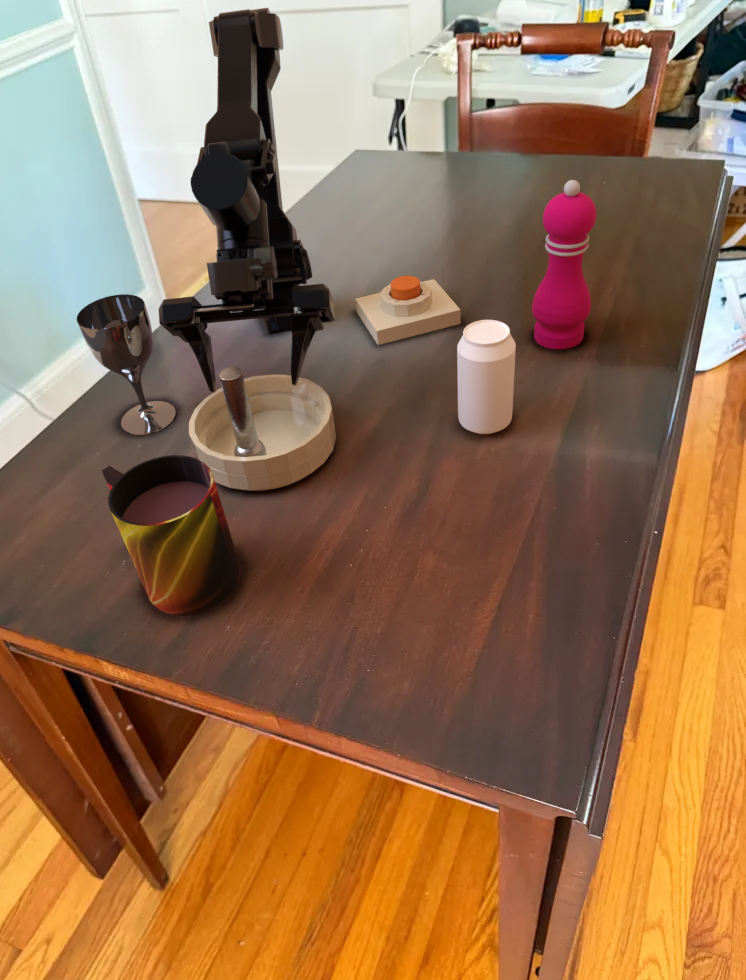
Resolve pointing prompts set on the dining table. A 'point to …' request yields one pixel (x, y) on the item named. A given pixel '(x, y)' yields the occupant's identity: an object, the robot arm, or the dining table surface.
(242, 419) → the metal pestle
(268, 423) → the bowl
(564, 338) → the pepper mill
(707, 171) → the dining table surface
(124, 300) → the wine glass
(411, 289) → the timer button
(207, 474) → the mug
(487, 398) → the beverage can
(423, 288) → the push button box
